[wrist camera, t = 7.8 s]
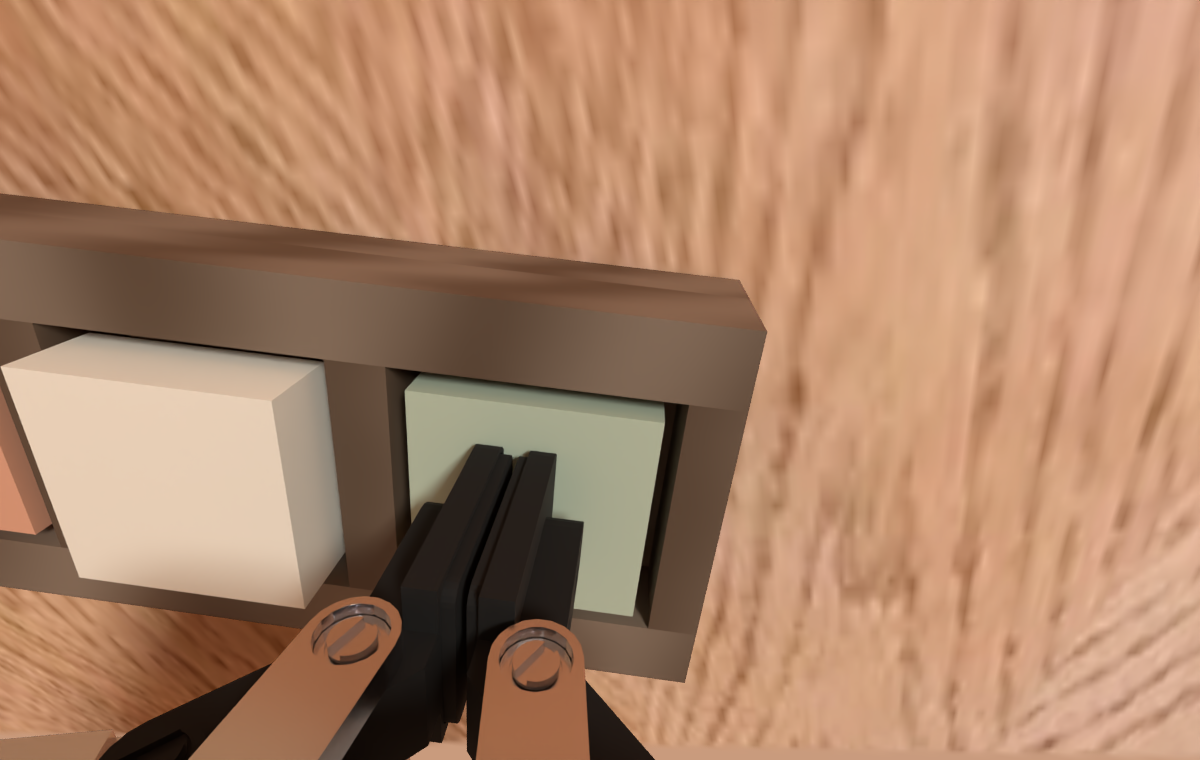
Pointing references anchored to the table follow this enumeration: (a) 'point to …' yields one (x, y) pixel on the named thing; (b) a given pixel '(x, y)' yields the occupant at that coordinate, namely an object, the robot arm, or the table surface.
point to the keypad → (399, 378)
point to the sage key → (583, 468)
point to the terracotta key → (18, 483)
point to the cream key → (186, 465)
